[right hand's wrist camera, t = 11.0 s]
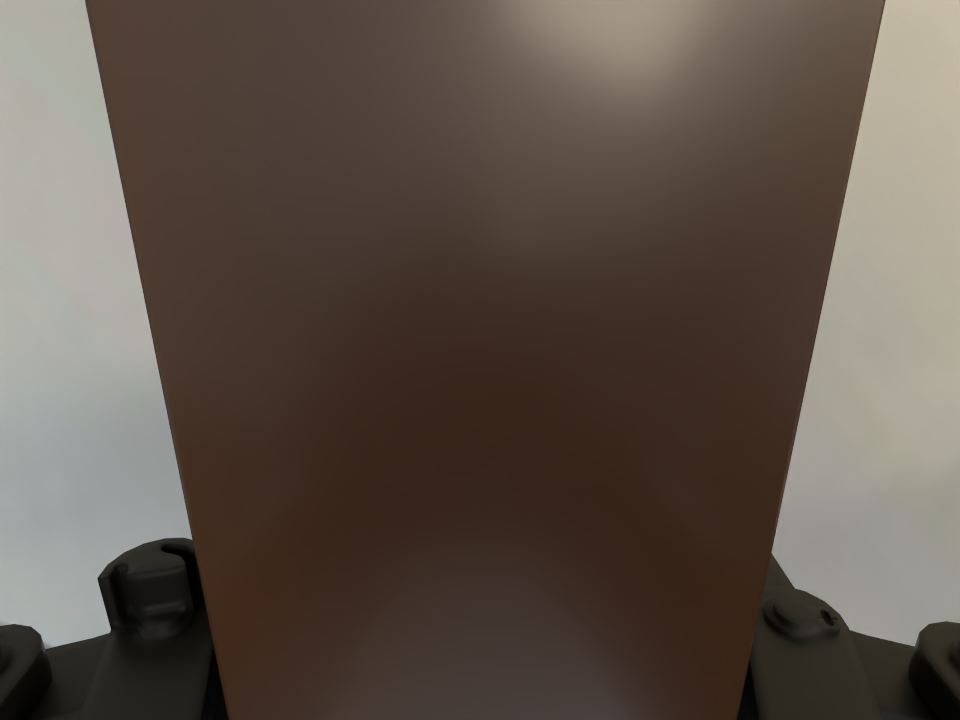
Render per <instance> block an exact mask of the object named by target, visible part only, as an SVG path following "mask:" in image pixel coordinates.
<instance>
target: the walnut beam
mask: <svg viewBox="0 0 960 720" xmlns="http://www.w3.org/2000/svg"><path fill="white" fill-rule="evenodd" d="M85 3H86V8H87V13H88V18H89V23H90V28H91V33H92V38H93V43H94V48H95V53H96V58H97V63H98V68H99V73H100V78H101V83H102V88H103V93H104V98H105V103H106V108H107V113H108V118H109V123H110V128H111V133H112V138H113V143H114V148H115V153H116V158H117V163H118V168H119V173H120V178H121V183H122V188H123V193H124V198H125V203H126V208H127V213H128V218H129V223H130V228H131V233H132V238H133V243H134V248H135V253H136V258H137V263H138V268H139V273H140V278H141V283H142V288H143V293H144V298H145V303H146V308H147V313H148V318H149V323H150V328H151V333H152V339H153V344H154V349H155V354H156V359H157V364H158V369H159V374H160V379H161V384H162V389H163V394H164V399H165V404H166V409H167V414H168V419H169V424H170V429H171V434H172V439H173V444H174V449H175V454H176V459H177V464H178V469H179V474H180V479H181V484H182V489H183V494H184V499H185V504H186V509H187V514H188V519H189V524H190V529H191V534H192V539H193V544H194V549H195V554H196V559H197V564H198V569H199V574H200V579H201V584H202V589H203V594H204V599H205V604H206V609H207V614H208V619H209V624H210V629H211V634H212V639H213V644H214V649H215V654H216V659H217V664H218V669H219V674H220V679H221V684H222V689H223V694H224V699H225V704H226V709H227V714H228V719H229V720H737V716H738V711H739V707H740V702H741V697H742V692H743V687H744V682H745V677H746V673H747V668H748V663H749V658H750V653H751V648H752V644H753V639H754V634H755V629H756V624H757V619H758V615H759V610H760V605H761V600H762V595H763V590H764V585H765V581H766V576H767V571H768V566H769V561H770V556H771V552H772V547H773V542H774V537H775V532H776V527H777V522H778V518H779V513H780V508H781V503H782V498H783V493H784V489H785V484H786V479H787V474H788V469H789V464H790V460H791V455H792V450H793V445H794V440H795V435H796V430H797V426H798V421H799V416H800V411H801V406H802V401H803V397H804V392H805V387H806V382H807V377H808V372H809V368H810V363H811V358H812V353H813V348H814V343H815V338H816V334H817V329H818V324H819V319H820V314H821V309H822V305H823V300H824V295H825V290H826V285H827V280H828V275H829V271H830V266H831V261H832V256H833V251H834V246H835V242H836V237H837V232H838V227H839V222H840V217H841V213H842V208H843V203H844V198H845V193H846V188H847V183H848V179H849V174H850V169H851V164H852V159H853V154H854V150H855V145H856V140H857V135H858V130H859V125H860V121H861V116H862V111H863V106H864V101H865V96H866V91H867V87H868V82H869V77H870V72H871V67H872V62H873V58H874V53H875V48H876V43H877V38H878V33H879V28H880V24H881V19H882V14H883V9H884V4H885V0H85Z"/></svg>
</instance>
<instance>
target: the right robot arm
mask: <svg viewBox="0 0 960 720" xmlns="http://www.w3.org/2000/svg"><path fill="white" fill-rule="evenodd" d="M97 579H98V582H99V586H100V590H101V594H102V597H103V601H104V605H105V608H106V612H107V616H108V619H109V623H110V627H111V631H110V633H108V634H105V635H102V636H98V637H95V638H91V639H87V640H83V641H79V642H74V643H70V644H66V645H61V646H57V647H53V648H49V649H45V647H44V644H43V641H42V638H41V635H40V634H39V633H38V632H37V631H35V630H34V629H33V628H32V627H29V626H23V625H17V624H12V625H4V626H0V720H229V719H228V714H227V709H226V704H225V699H224V694H223V689H222V684H221V679H220V674H219V669H218V664H217V659H216V654H215V649H214V644H213V639H212V634H211V629H210V624H209V619H208V614H207V609H206V604H205V599H204V594H203V589H202V584H201V579H200V574H199V569H198V564H197V559H196V554H195V549H194V544H193V540H190V539H186V538H166V539H161V540H157V541H153V542H149V543H145V544H142V545H140V546H138V547H135V548H133V549H131V550H129V551H127V552H124V553H123V554H121V555H120V556H119V557H117V558H116V559H115V560H113V561H112V562H111V563H109V564H108V565H107V566H106V568H105V569H104V570H103V572H102V573H101V574H100V576H99V577H98V578H97ZM737 720H960V623H954V622H947V621H946V622H939V623H933V624H929V625H928V626H926V627H925V628H924V629H923V630H922V631H920V633H919V636H918V639H917V642H916V645H915V647H914V646H910V645H905V644H901V643H897V642H892V641H888V640H884V639H879V638H875V637H871V636H867V635H863V634H860V633H857V632H854V631H850V630H849V628H848V626H847V625H846V623H845V622H844V620H843V619H842V617H841V615H840V614H839V613H838V612H836V611H835V610H834V609H833V608H832V607H830V606H829V605H828V604H827V603H826V602H825V601H823V600H821V599H819V598H817V597H815V596H813V595H811V594H809V593H807V592H805V591H802V590H798V589H795V588H794V587H793V585H792V584H791V582H790V581H789V579H788V578H787V576H786V575H785V573H784V572H783V570H782V569H781V567H780V566H779V564H778V563H777V561H776V559H775V558H774V556H773V555H772V553H771V556H770V561H769V566H768V571H767V576H766V581H765V585H764V590H763V595H762V600H761V605H760V610H759V615H758V619H757V624H756V629H755V634H754V639H753V644H752V648H751V653H750V658H749V663H748V668H747V673H746V677H745V682H744V687H743V692H742V697H741V702H740V707H739V711H738V716H737Z"/></svg>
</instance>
